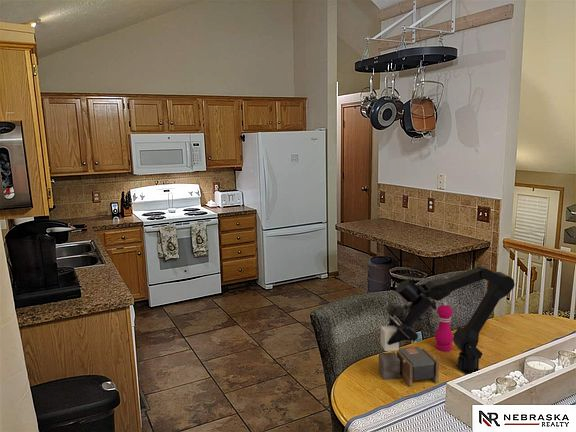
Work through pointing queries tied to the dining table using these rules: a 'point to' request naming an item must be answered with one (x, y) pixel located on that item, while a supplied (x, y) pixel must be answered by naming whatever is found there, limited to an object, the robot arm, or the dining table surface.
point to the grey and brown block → (419, 362)
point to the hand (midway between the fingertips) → (385, 340)
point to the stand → (389, 366)
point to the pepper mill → (444, 328)
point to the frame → (407, 368)
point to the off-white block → (386, 335)
